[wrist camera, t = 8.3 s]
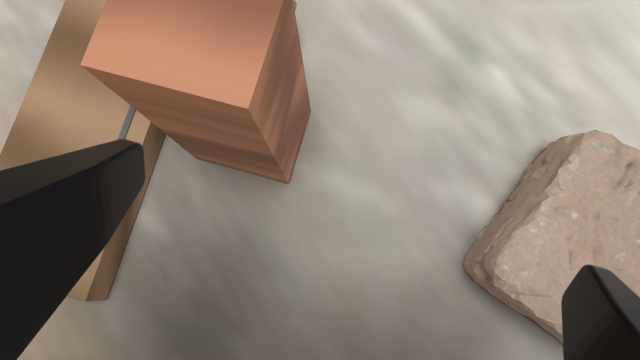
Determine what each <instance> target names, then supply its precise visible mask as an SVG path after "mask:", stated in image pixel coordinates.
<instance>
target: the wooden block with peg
mask: <svg viewBox="0 0 640 360" xmlns="http://www.w3.org/2000/svg"><path fill="white" fill-rule="evenodd" d="M295 9H296V2H295V0H106V3H105V5H104V8H103V10H102V13H101V15H100V18H99V20H98V22H97V25H96V27H95V30H94V32H93V35H92V37H91V40H90V42H89V45H88V47H87V50H86V52H85V54H84V57H83V59H82V62H81V64H80V65H81V66H82V67H83V68H85V69H86V70H87V71H88V72H90V73H91V74H92V75H93V76H95V77H96V78H97V79H98V80H100V81H101V82H102V83H103V84H105V85H106V86H107V87H108V88H110V89H111V90H112V91H113V92H115V93H116V94H117V95H118V96H120V97H121V98H122V99H123V100H124V101H126V102H127V103H128V104H129V105H131V106H132V107H133V108H134V109H136V110H137V111H138V112H139V113H141V114H142V115H143V116H144V117H146V118H147V119H148V120H149V121H151V122H152V123H153V124H154V125H156V126H157V127H158V128H159V129H161V130H162V131H163V132H164V133H165V134H167V135H168V136H169V137H170V138H172V139H173V140H174V141H175V142H177V143H178V144H179V145H180V146H182V147H183V148H184V149H185V150H187V151H188V152H189V153H190V154H192V155H193V156H194V157H195V158H197V159H200V160H204V161H207V162H211V163H214V164H218V165H222V166H225V167H229V168H233V169H236V170H240V171H244V172H247V173H251V174H255V175H258V176H262V177H265V178H269V179H273V180H276V181H280V182H284V183H287V184H289V182H290V179H291V176H292V172H293V169H294V166H295V162H296V159H297V156H298V153H299V149H300V146H301V143H302V139H303V136H304V133H305V129H306V126H307V123H308V119H309V116H310V113H311V110H310V104H309V97H308V91H307V85H306V79H305V73H304V66H303V60H302V54H301V48H300V42H299V35H298V29H297V23H296V17H295Z"/></svg>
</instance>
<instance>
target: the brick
mask: <svg viewBox="0 0 640 360" xmlns="http://www.w3.org/2000/svg"><path fill="white" fill-rule="evenodd" d="M587 264H591V265H595V266H599V267H602V268H606V269H609V270H610V271H612V272H613V273H614V274H615V275H616V276H617V277H618V278H619V279H620V280H622V281H623V282H624V283H625V284H626V285H627V286H628V287H629V288H630V289H631V290H632V291H633V292H635V293H636V294H637V295H638V296H639V297H640V150H638V149H636V148H633V147H630V146H628V145H625V144H623V143H621V142H620V141H619V140H618V139H617V138H615V137H614V136H613V135H611V134H607V133H603V132H600V131H597V130H594V131H590V132H587V133H580V134H575V135H569V136H565V137H562V138H560V139H558V140H557V141H555V142H552V143H550V144H549V145H548V147H547V148H546V149H545V150H544V151H543V152H542V153H541V154H540V155H539V156H538V157H537V158H536V159H535V161H534V163H533V164H530V165H529V166H528V167H527V168H526V169H525V170H524V172H523V175H522V178H521V180H520V182H519V185H518V186H517V187H516V188H515V191H514V192H513V193H512V194H511V196H510V197H509V198H508V201H507V202H506V203H505V204H504V205H503V209H501V211H500V213H499V214H496V215H495V216H494V217H493V219H492V220H491V222H490V223H489V225H488V226H486V227H485V228H484V229H483V230H482V231H481V232H480V233H479V234H478V235H477V237H476V238H475V240H474V243H473V245H472V246H471V248H470V249H469V250H468V252H467V253H466V256H465V261H464V268H465V271H466V272H467V273H468V274H470V275H471V277H472V279H473V281H474V282H476V283H477V284H479V285H480V286H482V287H483V288H485V289H486V290H487V291H488V292H489V293H490V294H491V295H492V296H494V297H496V298H497V299H499V300H500V301H502V302H504V303H505V304H507V305H508V306H510V307H511V308H513V309H514V310H516V311H517V312H519V313H520V314H522V315H524V316H526V317H528V318H531V319H533V320H534V321H535V322H536V323H538V324H539V325H540V327H542V328H543V329H544V330H545V331H547V332H549V333H550V334H552V335H553V336H554V337H556V338H557V339H558V340H559V341H560V342H561V343H562V344H563V332H562V311H561V301H562V296H563V294H564V292H565V290H566V289H567V287H568V286H569V284H570V283H571V281H572V280H573V279H574V277H575V276H576V274H577V273H578V271H579V270H580V269H581V268H582V267H583V266H584V265H587Z"/></svg>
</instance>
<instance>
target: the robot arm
mask: <svg viewBox="0 0 640 360" xmlns="http://www.w3.org/2000/svg"><path fill="white" fill-rule="evenodd" d="M144 182H145V161H144V149H143V146H142V145H141V144H140V143H138V142H134V141H130V140H127V139H118V140H114V141H111V142H107V143H103V144H99V145H95V146H92V147H88V148H84V149H80V150H76V151H73V152H69V153H65V154H61V155H57V156H53V157H50V158H46V159H42V160H38V161H34V162H31V163H27V164H23V165H19V166H15V167H11V168H8V169H4V170H0V360H17V359H18V357H19V356H20V355H21V353H22V352H23V351H24V350H25V348H26V347H27V346H28V344H29V343H30V342H31V341H32V339H33V338H34V337H35V336H36V334H37V333H38V332H39V330H40V329H41V328H42V327H43V325H44V324H45V323H46V322H47V320H48V319H49V318H50V316H51V315H52V314H53V313H54V311H55V310H56V309H57V308H58V306H59V305H60V304H61V302H62V301H63V300H64V299H65V297H66V296H67V295H68V294H69V292H70V291H71V290H72V288H73V287H74V286H75V285H76V283H77V282H78V281H79V280H80V278H81V277H82V276H83V274H84V273H85V272H86V271H87V269H88V268H89V267H90V266H91V264H92V263H93V262H94V260H95V259H96V258H97V257H98V255H99V254H100V253H101V252H102V250H103V249H104V247H105V246H106V245H107V243H108V242H109V241H110V239H111V237H112V236H113V234H114V233H115V231H116V230H117V228H118V226H119V225H120V223H121V222H122V220H123V218H124V217H125V215H126V213H127V212H128V210H129V208H130V207H131V205H132V204H133V202H134V200H135V199H136V197H137V195H138V194H139V192H140V191H141V189H142V187H143V185H144ZM561 311H562V332H563V354H564V360H640V297H639V296H638V295H637V294H636V293H635V292H633V291H632V290H631V289H630V288H629V287H628V286H627V285H626V284H625V283H624V282H623V281H622V280H620V279H619V278H618V277H617V276H616V275H615V274H614V273H613V272H612V271H610V270H609V269H606V268H602V267H599V266H595V265H591V264H587V265H584V266H583V267H582V268H581V269H580V270H579V271H578V273H577V274H576V276H575V277H574V279H573V280H572V281H571V283H570V284H569V286H568V287H567V289H566V290H565V292H564V294H563V296H562V301H561Z"/></svg>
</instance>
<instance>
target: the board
mask: <svg viewBox="0 0 640 360" xmlns="http://www.w3.org/2000/svg"><path fill="white" fill-rule="evenodd" d="M105 3H106V0H66V1H65V3H64V5H63V8H62V10H61V13H60V15H59V17H58V20H57V22H56V24H55V27H54V29H53V31H52V34H51V36H50V39H49V41H48V43H47V46H46V48H45V50H44V53H43V55H42V58H41V60H40V62H39V65H38V67H37V69H36V72H35V74H34V77H33V79H32V81H31V84H30V86H29V88H28V91H27V93H26V95H25V98H24V100H23V103H22V105H21V107H20V110H19V112H18V114H17V117H16V119H15V122H14V124H13V126H12V129H11V131H10V133H9V136H8V138H7V140H6V143H5V145H4V148H3V150H2V152H1V155H0V170H4V169H8V168H11V167H15V166H19V165H23V164H27V163H31V162H34V161H38V160H42V159H46V158H50V157H53V156H57V155H61V154H65V153H69V152H73V151H76V150H80V149H84V148H88V147H92V146H95V145H99V144H103V143H107V142H111V141H114V140H118V139H127V140H130V141H134V142H138V143H140V144H141V145H142V146H143V149H144V161H145V182H144V185H143V187H142V189H141V191H140V192H139V194H138V195H137V197H136V199H135V200H134V202H133V204H132V205H131V207H130V208H129V210H128V212H127V213H126V215H125V217H124V218H123V220H122V222H121V223H120V225H119V226H118V228H117V230H116V231H115V233H114V234H113V236H112V237H111V239H110V241H109V242H108V243H107V245H106V246H105V247H104V249H103V250H102V252H101V253H100V254H99V255H98V257H97V258H96V259H95V260H94V262H93V263H92V264H91V266H90V267H89V268H88V269H87V271H86V272H85V273H84V274H83V276H82V277H81V278H80V280H79V281H78V282H77V283H76V285H75V286H74V287H73V288H72V290H71V291H70V292H69V294H68V295H67V296H69V297H72V298H75V299H78V300H82V301H85V302H86V301H94V300H102V299H107V298H108V295H109V292H110V289H111V286H112V284H113V281H114V278H115V275H116V272H117V270H118V267H119V264H120V261H121V258H122V256H123V253H124V250H125V247H126V244H127V242H128V239H129V236H130V233H131V230H132V228H133V225H134V222H135V219H136V216H137V214H138V211H139V208H140V205H141V202H142V200H143V197H144V194H145V191H146V188H147V186H148V183H149V180H150V177H151V174H152V171H153V169H154V166H155V163H156V160H157V157H158V155H159V152H160V149H161V146H162V143H163V141H164V138H165V135H166V134H165V133H164V132H163V131H162V130H161V129H159V128H158V127H157V126H156V125H154V124H153V123H152V122H151V121H149V120H148V119H147V118H146V117H144V116H143V115H142V114H141V113H139V112H138V111H137V110H136V109H134V108H133V107H132V106H131V105H129V104H128V103H127V102H126V101H124V100H123V99H122V98H121V97H120V96H118V95H117V94H116V93H115V92H113V91H112V90H111V89H110V88H108V87H107V86H106V85H105V84H103V83H102V82H101V81H100V80H98V79H97V78H96V77H95V76H93V75H92V74H91V73H90V72H88V71H87V70H86V69H85V68H83V67H82V66H81V65H80V64H81V62H82V59H83V57H84V54H85V52H86V50H87V47H88V45H89V42H90V40H91V37H92V35H93V32H94V30H95V27H96V25H97V22H98V20H99V18H100V15H101V13H102V10H103V8H104V5H105Z"/></svg>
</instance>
